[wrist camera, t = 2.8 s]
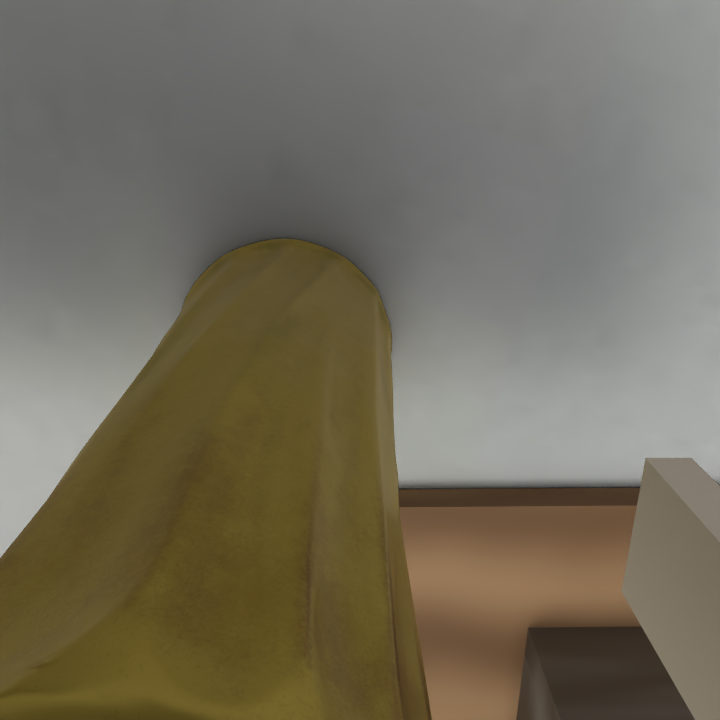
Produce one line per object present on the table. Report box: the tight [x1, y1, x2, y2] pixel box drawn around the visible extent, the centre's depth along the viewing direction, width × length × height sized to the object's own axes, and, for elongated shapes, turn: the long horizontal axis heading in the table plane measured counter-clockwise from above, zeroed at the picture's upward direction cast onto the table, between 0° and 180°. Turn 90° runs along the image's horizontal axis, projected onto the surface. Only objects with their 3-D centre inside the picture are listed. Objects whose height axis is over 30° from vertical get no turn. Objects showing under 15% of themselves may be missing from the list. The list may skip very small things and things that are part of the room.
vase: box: [0, 239, 432, 720], centre depth 12 cm, size 6×6×14 cm
